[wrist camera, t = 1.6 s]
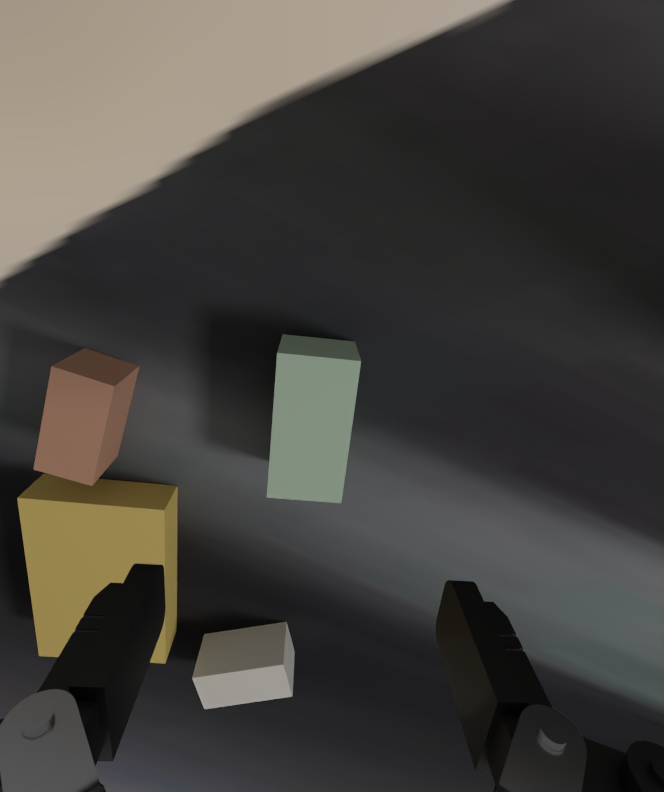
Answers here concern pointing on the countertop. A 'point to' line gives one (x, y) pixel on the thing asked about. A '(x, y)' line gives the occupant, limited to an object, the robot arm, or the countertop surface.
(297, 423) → the sage brick
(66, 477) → the rust brick
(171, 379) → the countertop surface
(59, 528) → the mustard base brick
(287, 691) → the cream brick
